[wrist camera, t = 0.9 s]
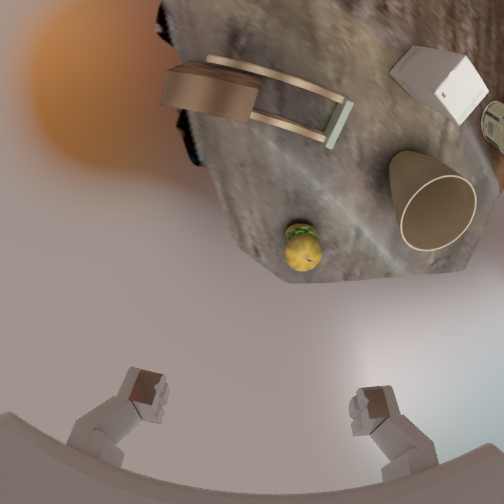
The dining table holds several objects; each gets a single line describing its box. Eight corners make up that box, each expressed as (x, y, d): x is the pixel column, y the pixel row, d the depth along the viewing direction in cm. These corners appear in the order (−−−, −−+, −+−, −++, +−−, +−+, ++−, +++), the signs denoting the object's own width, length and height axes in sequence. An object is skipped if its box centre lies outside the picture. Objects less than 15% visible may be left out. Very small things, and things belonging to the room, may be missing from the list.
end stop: (321, 137, 43) (325, 146, 40) (341, 94, 37) (347, 100, 34) (327, 140, 43) (331, 149, 40) (347, 97, 37) (354, 103, 34)
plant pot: (422, 201, 50) (452, 254, 39) (363, 191, 50) (387, 248, 39) (445, 142, 39) (489, 187, 28) (382, 123, 39) (421, 166, 28)
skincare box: (410, 97, 35) (458, 129, 24) (385, 71, 32) (431, 93, 21) (436, 68, 29) (491, 93, 18) (412, 41, 27) (467, 54, 16)
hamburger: (280, 236, 61) (280, 278, 52) (287, 211, 55) (289, 253, 47) (313, 241, 61) (318, 283, 53) (322, 217, 56) (330, 259, 47)
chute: (198, 101, 40) (195, 104, 38) (210, 53, 33) (207, 54, 32) (321, 138, 43) (323, 142, 42) (341, 94, 37) (344, 97, 35)
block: (183, 88, 38) (160, 104, 30) (190, 61, 34) (166, 70, 27) (253, 103, 40) (247, 124, 32) (262, 77, 36) (259, 89, 29)
